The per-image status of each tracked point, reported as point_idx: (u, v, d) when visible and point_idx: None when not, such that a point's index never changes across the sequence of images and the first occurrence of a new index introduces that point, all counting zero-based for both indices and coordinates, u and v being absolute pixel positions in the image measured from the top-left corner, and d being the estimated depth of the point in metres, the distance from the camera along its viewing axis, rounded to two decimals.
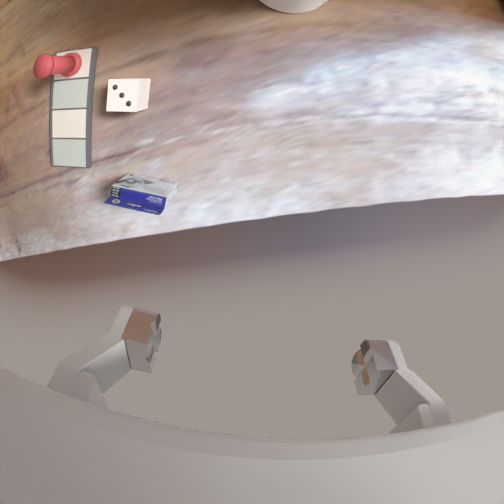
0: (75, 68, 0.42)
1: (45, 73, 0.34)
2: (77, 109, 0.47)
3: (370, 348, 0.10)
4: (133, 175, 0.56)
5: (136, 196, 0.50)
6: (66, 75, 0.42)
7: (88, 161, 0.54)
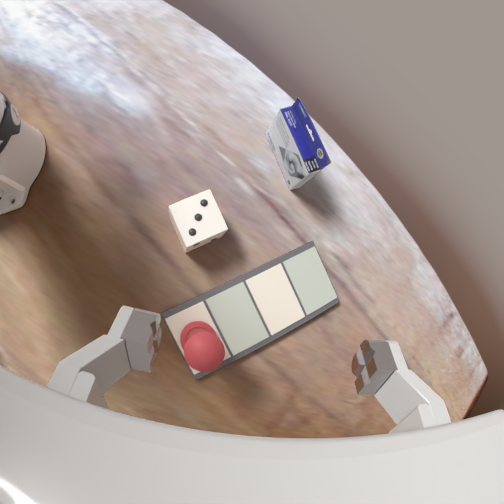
0: (199, 324, 0.40)
1: (213, 339, 0.32)
2: (251, 293, 0.44)
3: (370, 348, 0.10)
4: (287, 179, 0.48)
5: (301, 138, 0.41)
6: (214, 334, 0.41)
7: (305, 245, 0.47)
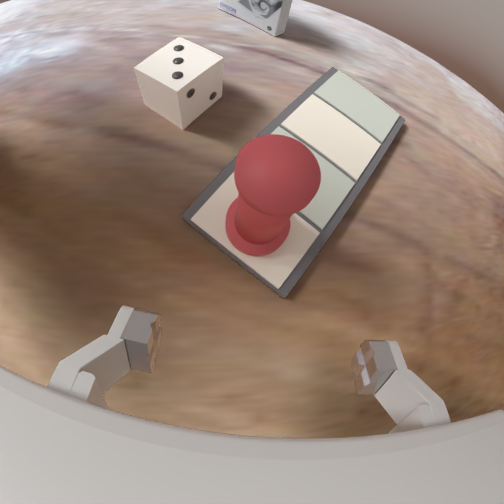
0: None
1: (282, 141, 0.16)
2: (298, 135, 0.27)
3: (370, 348, 0.10)
4: (266, 26, 0.31)
5: None
6: None
7: (328, 72, 0.30)
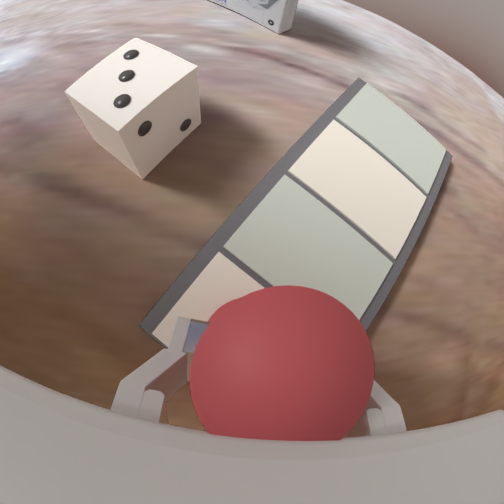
0: None
1: (298, 305, 0.07)
2: (314, 190, 0.19)
3: None
4: (267, 20, 0.23)
5: None
6: None
7: (353, 85, 0.22)
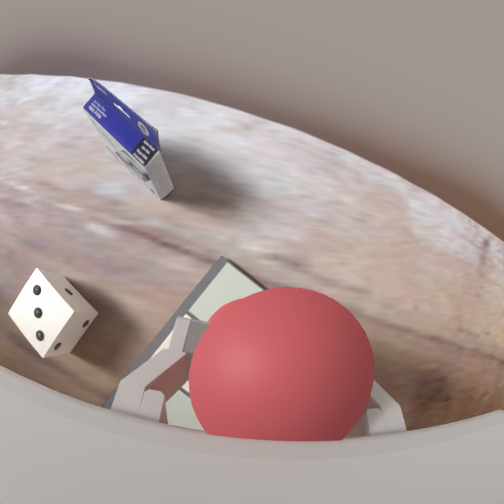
0: None
1: (298, 307, 0.07)
2: None
3: None
4: (149, 188, 0.30)
5: (117, 125, 0.24)
6: None
7: (213, 268, 0.30)
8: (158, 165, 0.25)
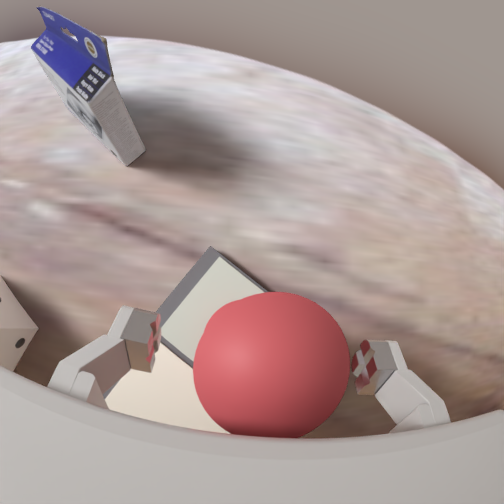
0: None
1: (283, 308, 0.08)
2: None
3: (370, 348, 0.10)
4: (109, 149, 0.20)
5: (63, 57, 0.13)
6: None
7: (198, 265, 0.19)
8: (112, 103, 0.14)
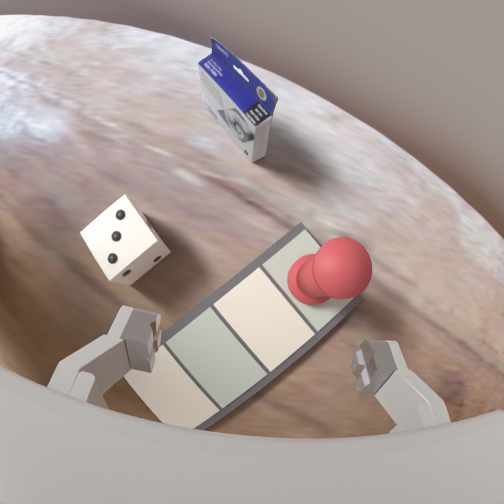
0: (309, 257, 0.30)
1: (350, 244, 0.22)
2: (226, 320, 0.30)
3: (370, 348, 0.10)
4: (243, 149, 0.34)
5: (232, 86, 0.27)
6: None
7: (292, 231, 0.32)
8: (265, 129, 0.28)
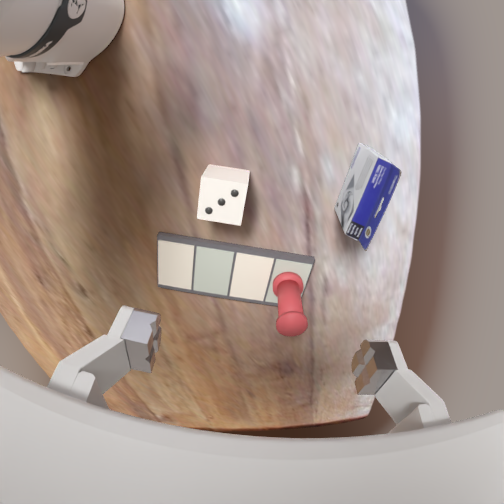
0: (297, 280, 0.49)
1: (304, 322, 0.42)
2: (234, 263, 0.49)
3: (370, 348, 0.10)
4: (338, 202, 0.43)
5: (368, 201, 0.35)
6: (301, 291, 0.51)
7: (306, 259, 0.49)
8: None
